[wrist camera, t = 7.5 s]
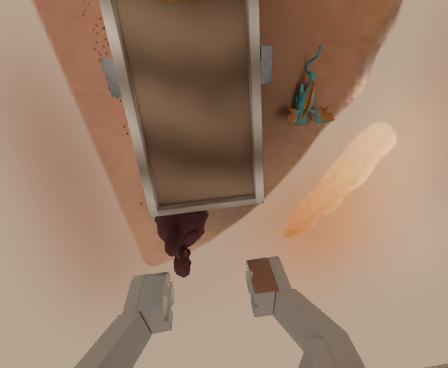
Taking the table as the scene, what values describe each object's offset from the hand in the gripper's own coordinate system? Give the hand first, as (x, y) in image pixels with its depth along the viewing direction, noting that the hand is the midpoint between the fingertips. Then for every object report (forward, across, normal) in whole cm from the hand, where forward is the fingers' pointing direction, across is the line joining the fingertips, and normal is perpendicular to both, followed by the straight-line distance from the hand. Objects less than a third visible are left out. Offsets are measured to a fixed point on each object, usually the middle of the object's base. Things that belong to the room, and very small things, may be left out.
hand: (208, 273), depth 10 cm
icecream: (+24, +4, +11) cm, 27 cm away
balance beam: (+16, 0, -7) cm, 18 cm away
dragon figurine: (+24, -15, -7) cm, 29 cm away
